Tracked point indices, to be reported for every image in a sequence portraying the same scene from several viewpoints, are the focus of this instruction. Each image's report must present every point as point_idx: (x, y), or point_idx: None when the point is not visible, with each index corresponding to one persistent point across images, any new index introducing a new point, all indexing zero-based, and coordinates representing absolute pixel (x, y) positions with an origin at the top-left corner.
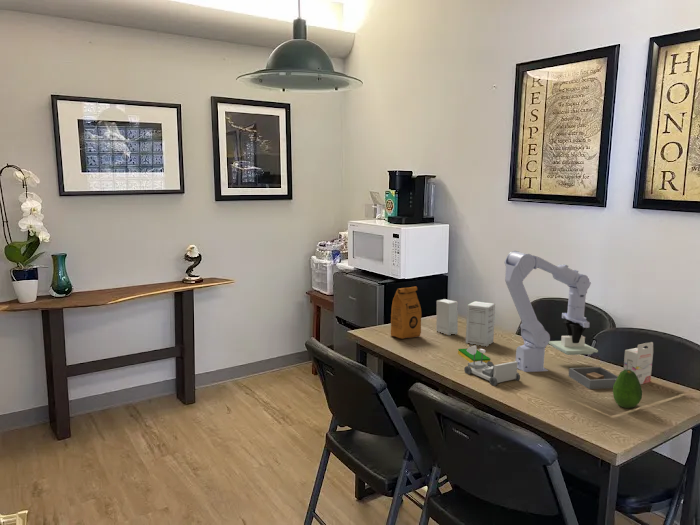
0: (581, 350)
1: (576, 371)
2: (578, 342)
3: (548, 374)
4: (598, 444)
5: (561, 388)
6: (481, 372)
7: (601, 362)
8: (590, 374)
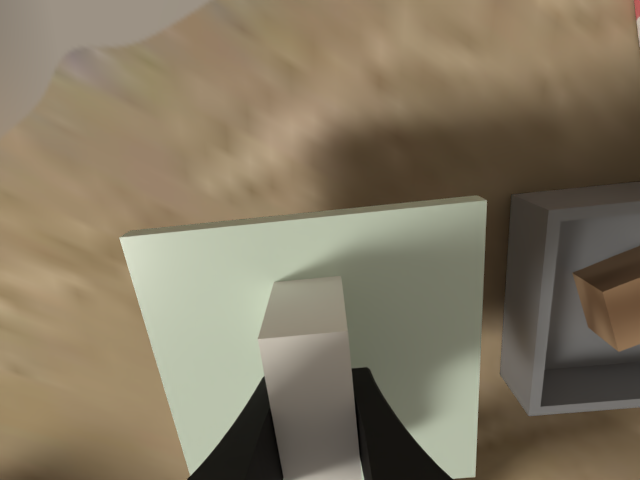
0: (473, 363)
1: (593, 403)
2: (372, 375)
3: None
4: None
5: (620, 456)
6: None
7: (221, 4)
8: (635, 332)
